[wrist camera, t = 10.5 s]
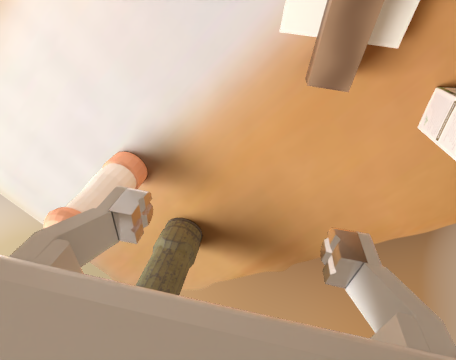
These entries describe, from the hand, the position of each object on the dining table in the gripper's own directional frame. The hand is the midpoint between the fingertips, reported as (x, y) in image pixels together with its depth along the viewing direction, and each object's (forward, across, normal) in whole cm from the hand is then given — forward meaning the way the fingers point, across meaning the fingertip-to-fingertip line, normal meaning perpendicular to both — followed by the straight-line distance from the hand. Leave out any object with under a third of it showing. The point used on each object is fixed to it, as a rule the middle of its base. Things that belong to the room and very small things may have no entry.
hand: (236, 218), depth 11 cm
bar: (+25, -7, -8) cm, 27 cm away
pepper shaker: (+28, +23, +21) cm, 42 cm away
